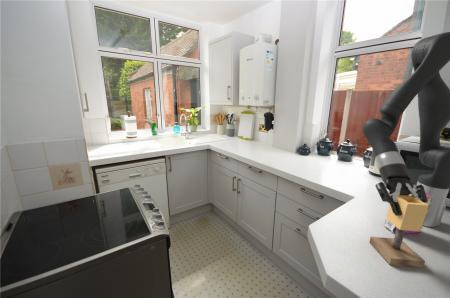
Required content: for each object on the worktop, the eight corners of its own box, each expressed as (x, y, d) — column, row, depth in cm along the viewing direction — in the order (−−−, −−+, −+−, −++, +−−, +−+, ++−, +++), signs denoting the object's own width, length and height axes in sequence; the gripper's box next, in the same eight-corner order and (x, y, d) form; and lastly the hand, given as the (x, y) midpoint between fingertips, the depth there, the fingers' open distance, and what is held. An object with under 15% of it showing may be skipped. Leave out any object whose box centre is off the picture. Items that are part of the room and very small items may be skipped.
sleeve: (404, 219, 66) (412, 195, 64) (420, 231, 60) (429, 205, 58) (385, 218, 66) (392, 194, 64) (399, 229, 61) (407, 203, 58)
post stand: (398, 244, 71) (404, 221, 68) (423, 267, 61) (431, 241, 59) (369, 242, 71) (374, 219, 69) (389, 264, 62) (396, 239, 59)
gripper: (377, 161, 66) (394, 211, 58) (422, 163, 65) (446, 215, 57) (364, 170, 73) (378, 216, 64) (404, 172, 72) (424, 220, 63)
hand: (410, 216), depth 61 cm, fingers closed on sleeve, 6 cm apart
